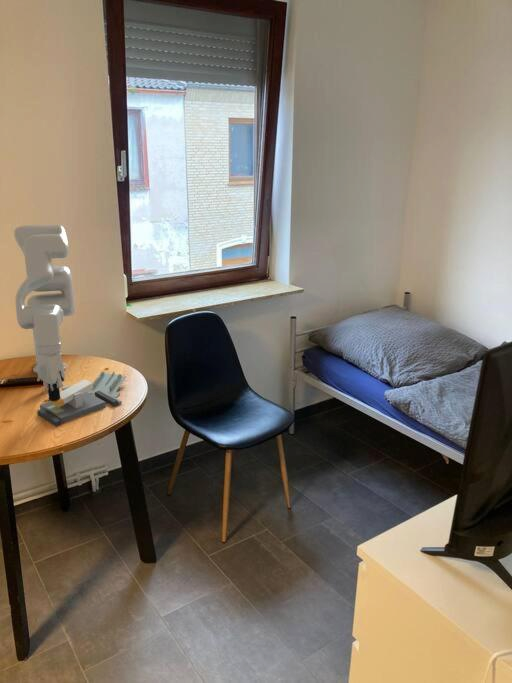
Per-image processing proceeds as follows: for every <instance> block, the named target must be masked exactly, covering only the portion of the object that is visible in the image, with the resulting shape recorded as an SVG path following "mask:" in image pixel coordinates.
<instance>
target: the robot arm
mask: <svg viewBox="0 0 512 683" xmlns="http://www.w3.org/2000/svg"><path fill="white" fill-rule="evenodd" d="M66 232H67V231H66V230H65V228H64V227H63V225H60V224H36V225H35V224H32V225H31V224H30V225H21V226H18V227H16V228H15V229H14V232H13V235H14V239H15V241H16V243H17V246H18V247H19V248H20V250H21V252H22V253H23V256H24V263H25V264H24V265H25V272H26V278H25V280H24V281H23V282H22V283H21V284H20V285H19V288H18V289H17V291H16V295H15V313H16V320H17V324H18V326H19V327H20V328H21V329H24V330H31V329H32V335H33V336H32V337H33V342H34V352H35V361H36V365H35V366H33V373H35V374H37V378H38V377H39V378H40V381H42V382H43V381H45V382H46V384H47V388H48V393H47V394H48V400H49V402H50V401H52V402H53V401H56V400H59V399H60V392H61V391H60V389H61V388H62V387H64V386H63V382H65V378H66V375H65V370H66V369H67V364H66V363H65V362H63V357H62V342H61V332H60V325H61V324H62V322H63V321H64V318H65V317H70V316H73V314H74V313H75V309H76V304H75V303H76V302H75V294H74V293H75V292H74V283H73V277H72V276H73V275H72V272H71V270H70V268H69V267H68V266H65V265H54V266H53V261H52V259H64V258H67V257H68V255H69V252H70V250H69V249H70V248H69V247H70V246H69V241H68V236H67V233H66ZM58 291H59V292H58ZM33 292H37V293H39V292H42V293H39V294H33V295H31V296H29V295H30V294H31V293H33ZM43 292H47V293H43ZM48 292H53V293H48ZM27 296H29V298H28V299H27V302H26V306H25V300H26V297H27Z"/></svg>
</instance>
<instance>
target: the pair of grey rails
mask: <svg viewBox="0 0 512 683" xmlns="http://www.w3.org/2000/svg"><path fill="white" fill-rule="evenodd" d="M94 396H96V397H97V398H99V399H101V400H103V401H105V404H108V405H109V406H112V407H113V408H115V407H117V406H120V405H123V404H122V400H121V399H119V398H118V397H117V398H115V397H113V396H111V395H109V394H107V393H105V392H104V391H96V392H95V395H94ZM37 415H38V416H39V417H41V419H43V420H44V421H46V422H48V423H49V424H50V425H53V427H55V428H57V427H60V426H62V424H61V420H60V419H58V418H56V417H55V416H53V415H52V414H50V413H49V412H47V411H45V410H44V409H40V408H39V409H38V410H37Z"/></svg>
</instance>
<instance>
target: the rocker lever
mask: <svg viewBox="0 0 512 683" xmlns="http://www.w3.org/2000/svg"><path fill="white" fill-rule="evenodd" d="M93 388H94V387H93V382H90V381H89V380H87V379H85V378H84V379H82V380H80V381H78V382H75V384H72V385H71V386H69V388H66V389H65V390H63V391H62V390H61V391H60V399H59V400H56V401H53V402H52V401H50V400H49V402H50V403H51V404H53V405H54V406H56V407H58V408H59V407H61V406H63V405H65V404H66V403H67V402H69V401H71V400H73V399H74V394H76V393H79V392H81V394H84V393H85V392H87V391H89V390H91V389H93Z"/></svg>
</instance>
